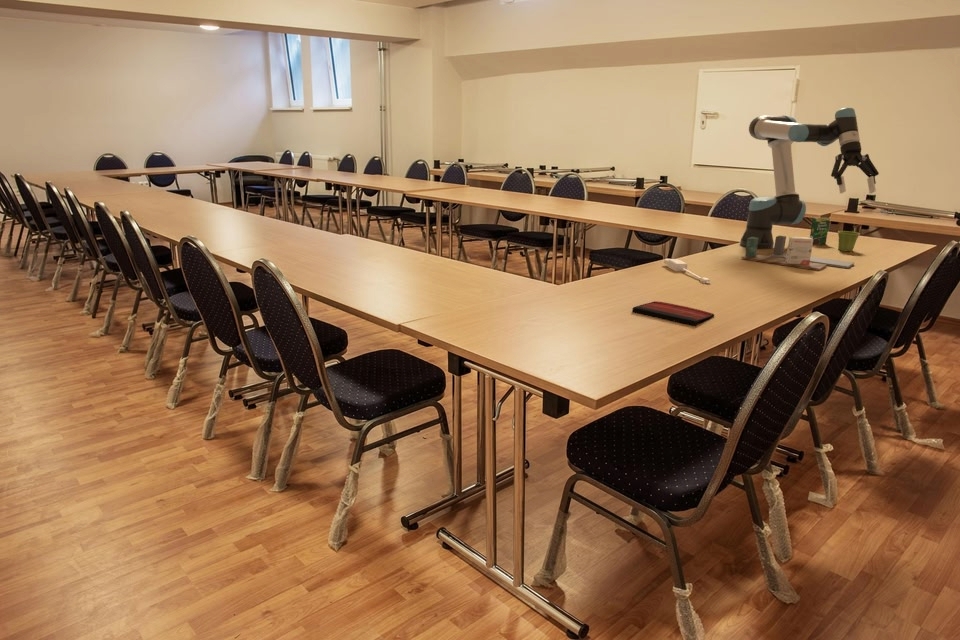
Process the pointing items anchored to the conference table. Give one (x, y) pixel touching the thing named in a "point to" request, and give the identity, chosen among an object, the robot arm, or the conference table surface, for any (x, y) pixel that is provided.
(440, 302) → the conference table surface
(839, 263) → the grey strip
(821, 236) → the coffee box
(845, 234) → the plant pot
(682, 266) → the charging cable
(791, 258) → the ink box
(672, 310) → the binder
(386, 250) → the conference table surface
